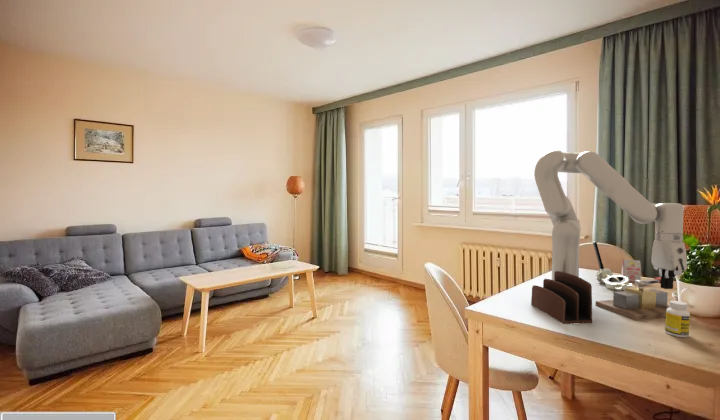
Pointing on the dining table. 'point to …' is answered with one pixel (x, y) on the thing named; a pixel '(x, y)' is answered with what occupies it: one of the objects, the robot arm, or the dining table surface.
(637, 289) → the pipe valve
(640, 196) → the robot arm
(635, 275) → the printed carton box
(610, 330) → the dining table surface
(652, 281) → the valve lever
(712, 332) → the dining table surface
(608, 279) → the butterfly valve
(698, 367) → the dining table surface
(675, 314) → the supplement bottle
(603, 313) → the dining table surface
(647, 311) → the board
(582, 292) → the letter holder
